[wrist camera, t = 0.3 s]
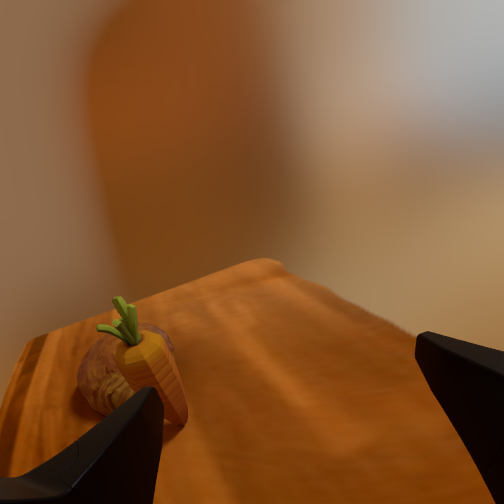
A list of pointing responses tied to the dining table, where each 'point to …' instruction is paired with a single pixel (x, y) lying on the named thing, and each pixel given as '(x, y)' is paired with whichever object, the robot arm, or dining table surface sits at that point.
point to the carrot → (147, 362)
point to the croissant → (108, 373)
